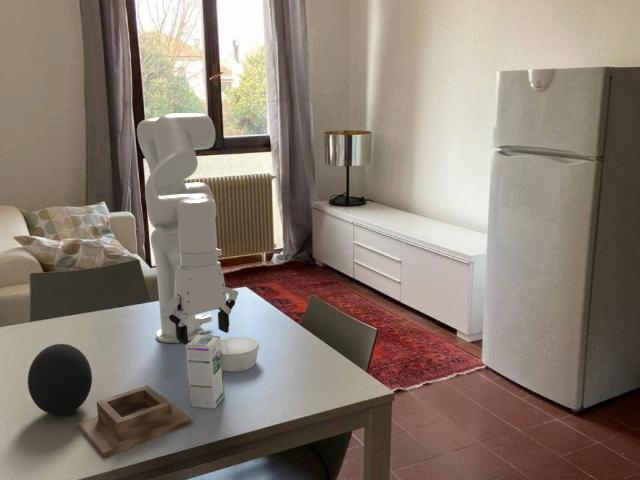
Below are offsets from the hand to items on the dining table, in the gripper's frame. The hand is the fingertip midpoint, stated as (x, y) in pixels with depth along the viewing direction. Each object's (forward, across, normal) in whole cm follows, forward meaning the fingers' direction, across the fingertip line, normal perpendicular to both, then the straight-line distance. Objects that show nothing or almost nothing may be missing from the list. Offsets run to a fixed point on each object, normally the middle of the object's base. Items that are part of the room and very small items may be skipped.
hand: (203, 336), depth 126 cm
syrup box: (+16, 0, -1) cm, 16 cm away
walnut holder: (+16, +16, -2) cm, 22 cm away
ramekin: (+15, -15, -13) cm, 25 cm away
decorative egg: (+15, +25, -17) cm, 34 cm away
